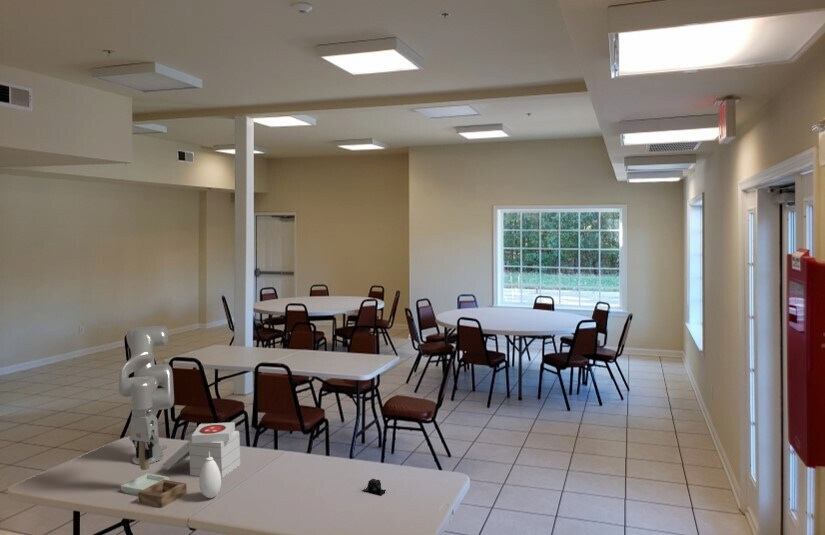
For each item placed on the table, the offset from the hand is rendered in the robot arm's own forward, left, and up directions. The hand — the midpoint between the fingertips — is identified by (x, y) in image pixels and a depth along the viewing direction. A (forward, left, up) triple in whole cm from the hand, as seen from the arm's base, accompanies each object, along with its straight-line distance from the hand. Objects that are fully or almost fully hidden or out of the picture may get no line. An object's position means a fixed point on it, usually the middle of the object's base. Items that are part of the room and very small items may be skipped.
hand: (144, 457), depth 236 cm
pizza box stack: (-23, +9, -13) cm, 28 cm away
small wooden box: (+5, +14, -12) cm, 19 cm away
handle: (0, 0, -5) cm, 5 cm away
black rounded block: (-29, +87, -13) cm, 93 cm away
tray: (0, 0, -12) cm, 12 cm away
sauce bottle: (-2, +31, -13) cm, 33 cm away
